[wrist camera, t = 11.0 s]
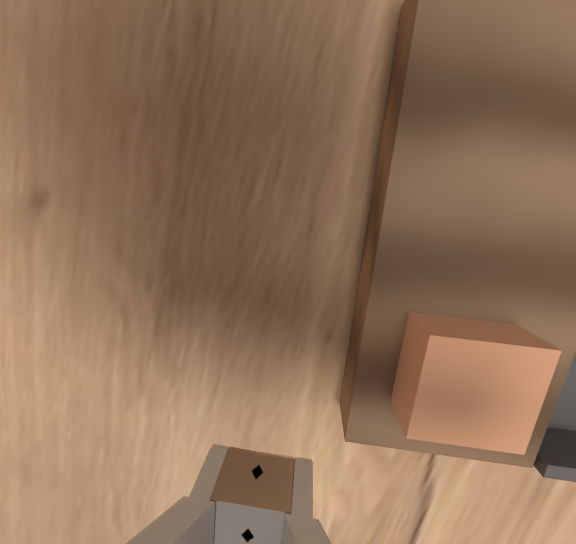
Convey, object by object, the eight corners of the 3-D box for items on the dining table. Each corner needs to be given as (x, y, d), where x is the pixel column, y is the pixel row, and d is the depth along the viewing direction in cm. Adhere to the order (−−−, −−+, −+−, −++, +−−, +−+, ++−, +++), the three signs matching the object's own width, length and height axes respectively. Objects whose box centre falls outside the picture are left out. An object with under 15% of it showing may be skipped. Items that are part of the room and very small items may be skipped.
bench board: (401, 8, 13) (426, -48, 10) (626, 18, 13) (720, -38, 10) (339, 404, 19) (345, 441, 16) (496, 425, 18) (532, 467, 15)
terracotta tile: (408, 311, 14) (430, 335, 11) (516, 324, 13) (561, 350, 11) (390, 400, 15) (406, 438, 12) (488, 413, 14) (524, 455, 12)
